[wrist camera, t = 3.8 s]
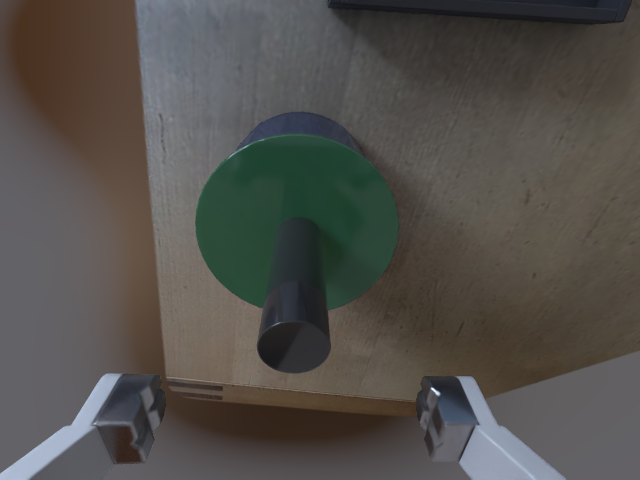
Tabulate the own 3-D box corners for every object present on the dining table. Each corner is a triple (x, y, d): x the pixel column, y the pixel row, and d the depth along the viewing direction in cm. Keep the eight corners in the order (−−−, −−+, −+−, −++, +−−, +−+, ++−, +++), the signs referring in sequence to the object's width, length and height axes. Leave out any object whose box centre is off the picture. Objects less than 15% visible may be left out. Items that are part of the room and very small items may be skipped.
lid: (211, 301, 22) (159, 442, 14) (187, 124, 17) (82, 195, 9) (380, 304, 23) (419, 440, 15) (410, 134, 17) (497, 208, 10)
